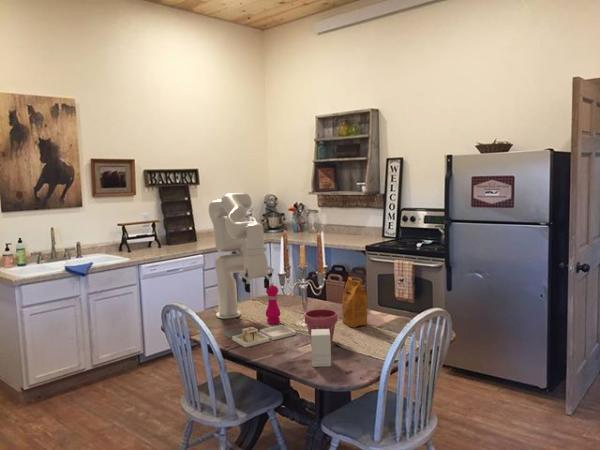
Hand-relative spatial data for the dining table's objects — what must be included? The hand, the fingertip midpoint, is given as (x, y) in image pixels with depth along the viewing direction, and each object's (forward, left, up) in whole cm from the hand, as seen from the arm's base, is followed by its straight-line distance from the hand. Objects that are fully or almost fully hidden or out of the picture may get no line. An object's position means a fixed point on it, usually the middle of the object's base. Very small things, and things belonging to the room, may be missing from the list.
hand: (257, 290), depth 226 cm
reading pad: (-14, -4, -22) cm, 27 cm away
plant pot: (+20, +20, -23) cm, 36 cm away
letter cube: (0, -4, -22) cm, 22 cm away
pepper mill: (-17, +18, -23) cm, 33 cm away
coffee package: (+10, +47, -23) cm, 53 cm away
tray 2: (0, +10, -22) cm, 24 cm away
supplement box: (+39, +5, -23) cm, 45 cm away
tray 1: (0, -4, -22) cm, 23 cm away
